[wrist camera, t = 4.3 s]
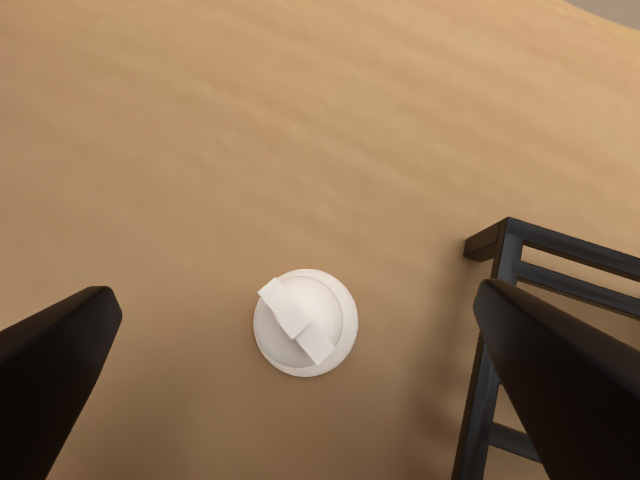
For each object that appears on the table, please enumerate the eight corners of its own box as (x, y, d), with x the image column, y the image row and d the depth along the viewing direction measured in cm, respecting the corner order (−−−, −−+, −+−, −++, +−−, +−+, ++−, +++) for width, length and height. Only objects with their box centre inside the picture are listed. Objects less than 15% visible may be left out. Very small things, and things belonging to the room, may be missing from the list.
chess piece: (300, 401, 14) (270, 590, 4) (233, 315, 15) (77, 305, 5) (379, 325, 15) (508, 334, 5) (311, 249, 16) (309, 130, 6)
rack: (646, 654, 12) (781, 788, 8) (395, 555, 12) (427, 644, 9) (663, 302, 15) (762, 296, 12) (466, 238, 16) (508, 215, 12)
